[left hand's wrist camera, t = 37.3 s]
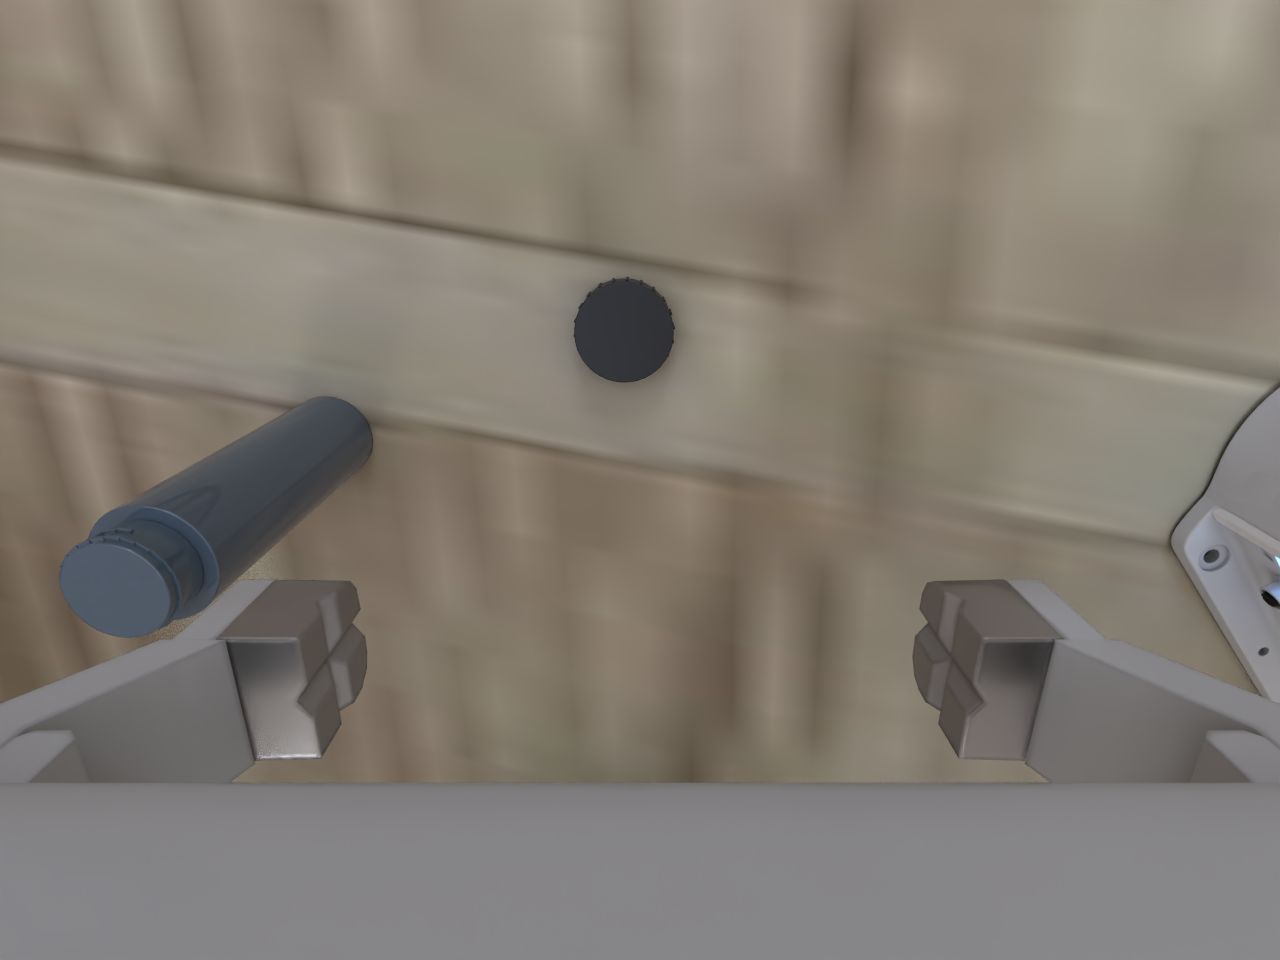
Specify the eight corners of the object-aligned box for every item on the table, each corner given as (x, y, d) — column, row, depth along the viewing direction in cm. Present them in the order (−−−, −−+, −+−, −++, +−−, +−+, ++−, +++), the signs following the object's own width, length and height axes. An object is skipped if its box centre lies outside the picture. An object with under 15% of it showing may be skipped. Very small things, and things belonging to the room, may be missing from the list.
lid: (603, 258, 35) (601, 261, 33) (690, 307, 36) (693, 312, 34) (560, 346, 37) (555, 354, 35) (644, 390, 37) (644, 401, 35)
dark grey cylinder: (370, 400, 38) (175, 534, 22) (374, 478, 39) (195, 656, 23) (286, 393, 38) (28, 523, 22) (293, 471, 39) (58, 646, 23)
